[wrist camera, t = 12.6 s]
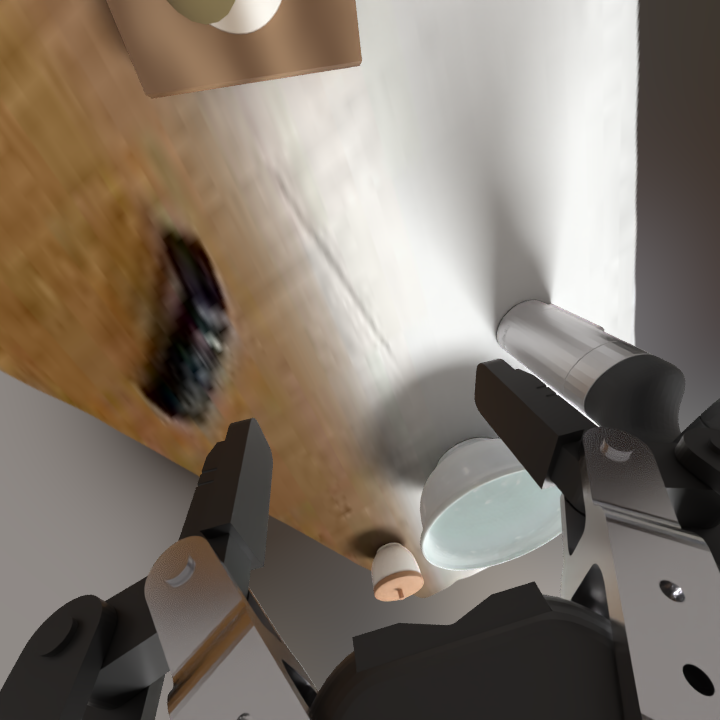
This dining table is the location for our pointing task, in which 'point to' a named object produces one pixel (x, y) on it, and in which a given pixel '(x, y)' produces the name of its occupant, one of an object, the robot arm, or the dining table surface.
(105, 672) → the robot arm
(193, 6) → the olive pepper mill
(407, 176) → the dining table surface
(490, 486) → the bowl
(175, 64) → the wooden stand
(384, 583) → the lidded bowl
